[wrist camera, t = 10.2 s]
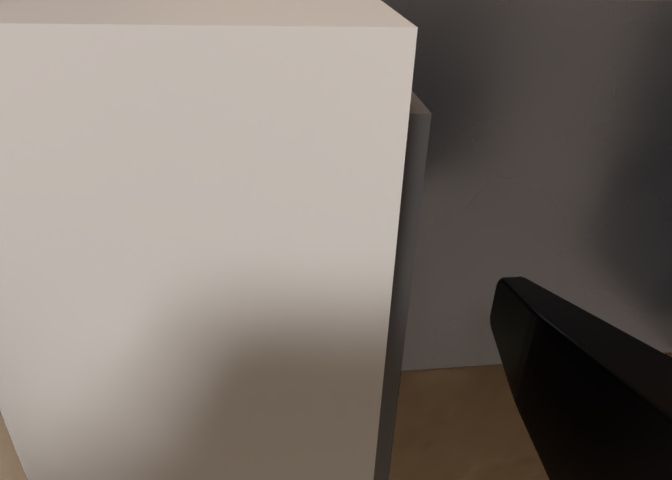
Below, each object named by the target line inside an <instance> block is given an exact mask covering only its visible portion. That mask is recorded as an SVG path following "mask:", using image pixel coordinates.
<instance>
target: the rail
mask: <svg viewBox="0 0 672 480" xmlns="http://www.w3.org/2000/svg"><path fill="white" fill-rule="evenodd" d="M381 1H383V2H384V3H385V4H387V5H388V6H389V7H391V8H392V9H393V10H395V11H396V12H398V13H399V14H400V15H402V16H403V17H404V18H406V19H407V20H408V21H410V22H411V23H412V24H414V25H415V26H416V27H418V30H417V40H416V50H415V60H414V71H413V81H412V91H413V92H414V93H415V95H416V96H417V97H418V98H419V99H420V100H421V102H422V103H423V104H424V105H425V106H426V108H427V109H428V110H429V111H430V112H431V113H432V116H431V124H430V132H429V141H428V149H427V158H426V166H425V174H424V183H423V191H422V200H421V208H420V217H419V225H418V233H417V242H416V250H415V259H414V267H413V276H412V284H411V292H410V301H409V309H408V318H407V326H406V334H405V343H404V351H403V360H402V368H401V371H408V370H422V369H437V368H451V367H466V366H480V365H494V364H502V361H501V358H500V355H499V352H498V349H497V346H496V342H495V339H494V336H493V333H492V330H491V325H490V313H491V308H492V303H493V299H494V294H495V289H496V285H497V282H498V280H499V279H501V278H503V277H519V276H521V277H525V278H527V279H529V280H530V281H532V282H534V283H536V284H538V285H539V286H541V287H543V288H545V289H547V290H549V291H550V292H552V293H554V294H556V295H558V296H560V297H561V298H563V299H565V300H567V301H569V302H571V303H572V304H574V305H576V306H578V307H580V308H582V309H583V310H585V311H587V312H589V313H591V314H593V315H594V316H596V317H598V318H600V319H602V320H604V321H605V322H607V323H609V324H611V325H613V326H615V327H616V328H618V329H620V330H622V331H624V332H626V333H627V334H629V335H631V336H633V337H635V338H636V339H638V340H640V341H642V342H644V343H646V344H647V345H649V346H651V347H653V348H655V349H657V350H658V351H660V352H662V353H667V352H672V0H381Z"/></svg>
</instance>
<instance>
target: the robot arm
mask: <svg viewBox="0 0 672 480" xmlns="http://www.w3.org/2000/svg"><path fill="white" fill-rule="evenodd" d="M490 325H491V330H492V333H493V336H494V339H495V342H496V346H497V349H498V352H499V355H500V358H501V361H502V364H503V367H504V371H505V374H506V377H507V380H508V383H509V386H510V389H511V392H512V395H513V398H514V401H515V404H516V406H517V408H518V411H519V413H520V415H521V418H522V420H523V422H524V424H525V426H526V429H527V431H528V433H529V435H530V438H531V440H532V442H533V444H534V446H535V449H536V451H537V453H538V455H539V457H540V460H541V462H542V464H543V466H544V468H545V471H546V473H547V475H548V477H549V479H550V480H672V358H671V357H669V356H668V355H666V354H664V353H662V352H660V351H658V350H657V349H655V348H653V347H651V346H649V345H647V344H646V343H644V342H642V341H640V340H638V339H636V338H635V337H633V336H631V335H629V334H627V333H626V332H624V331H622V330H620V329H618V328H616V327H615V326H613V325H611V324H609V323H607V322H605V321H604V320H602V319H600V318H598V317H596V316H594V315H593V314H591V313H589V312H587V311H585V310H583V309H582V308H580V307H578V306H576V305H574V304H572V303H571V302H569V301H567V300H565V299H563V298H561V297H560V296H558V295H556V294H554V293H552V292H550V291H549V290H547V289H545V288H543V287H541V286H539V285H538V284H536V283H534V282H532V281H530V280H529V279H527V278H525V277H521V276H519V277H503V278H501V279H499V280H498V282H497V285H496V289H495V294H494V299H493V303H492V308H491V313H490Z"/></svg>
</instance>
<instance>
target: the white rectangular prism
mask: <svg viewBox="0 0 672 480" xmlns="http://www.w3.org/2000/svg"><path fill="white" fill-rule="evenodd" d="M417 30H418V27H416V26H415V25H414V24H412V23H411V22H410V21H408V20H407V19H406V18H404V17H403V16H402V15H400V14H399V13H398V12H396V11H395V10H393V9H392V8H391V7H389V6H388V5H387V4H385V3H384V2H383V1H381V0H0V412H1V414H2V417H3V419H4V422H5V424H6V427H7V430H8V432H9V435H10V437H11V440H12V442H13V445H14V447H15V450H16V452H17V455H18V458H19V460H20V463H21V465H22V468H23V470H24V473H25V475H26V478H27V480H388V478H389V469H390V461H391V452H392V444H393V436H394V427H395V419H396V410H397V402H398V393H399V385H400V377H401V368H402V360H403V351H404V343H405V334H406V326H407V318H408V309H409V301H410V292H411V284H412V276H413V267H414V259H415V250H416V242H417V233H418V225H419V217H420V208H421V200H422V191H423V183H424V174H425V166H426V158H427V149H428V141H429V132H430V124H431V116H432V113H431V112H430V111H429V110H428V109H427V108H426V106H425V105H424V104H423V103H422V102H421V100H420V99H419V98H418V97H417V96H416V95H415V93H414V92H413V91H412V81H413V71H414V60H415V50H416V40H417Z"/></svg>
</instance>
